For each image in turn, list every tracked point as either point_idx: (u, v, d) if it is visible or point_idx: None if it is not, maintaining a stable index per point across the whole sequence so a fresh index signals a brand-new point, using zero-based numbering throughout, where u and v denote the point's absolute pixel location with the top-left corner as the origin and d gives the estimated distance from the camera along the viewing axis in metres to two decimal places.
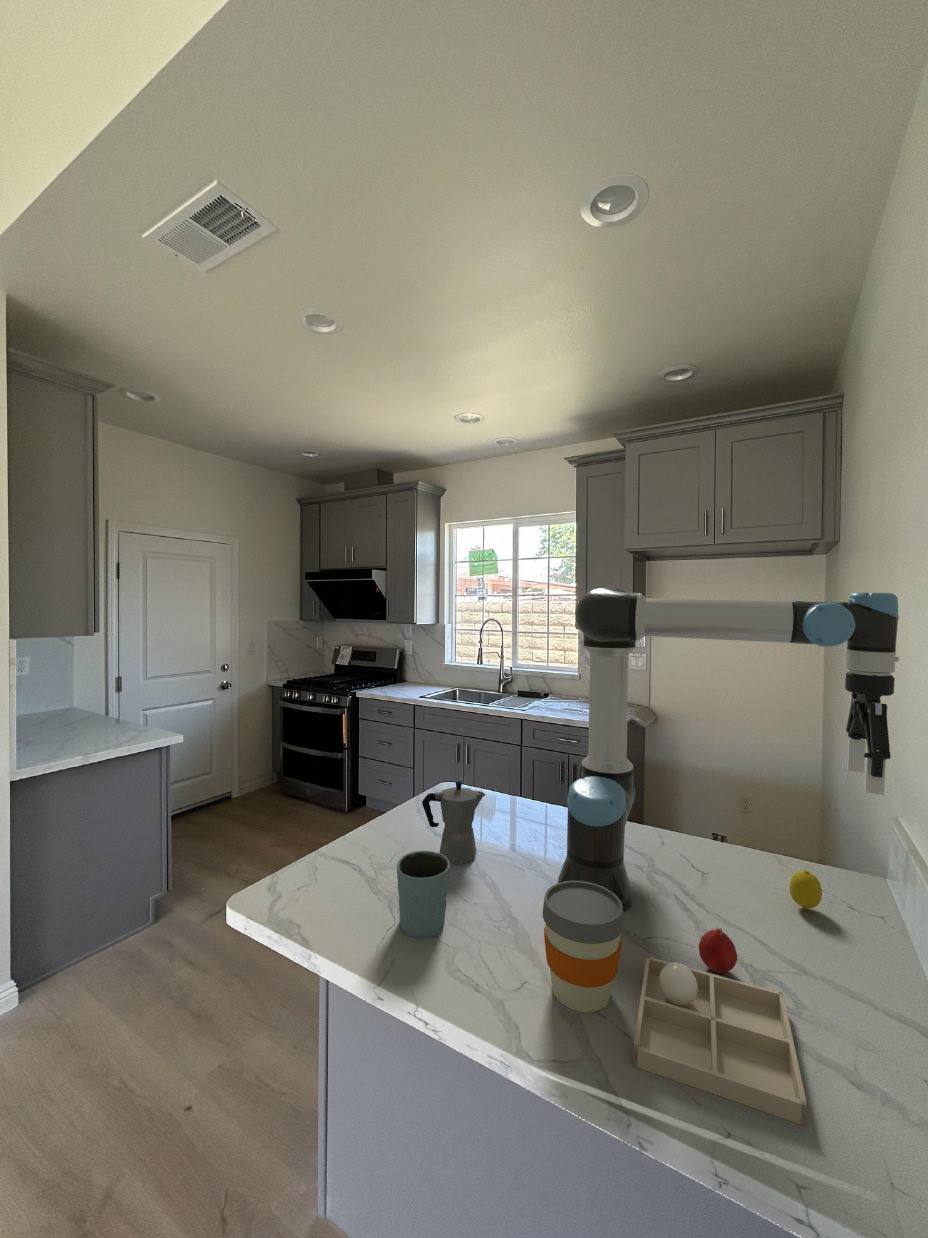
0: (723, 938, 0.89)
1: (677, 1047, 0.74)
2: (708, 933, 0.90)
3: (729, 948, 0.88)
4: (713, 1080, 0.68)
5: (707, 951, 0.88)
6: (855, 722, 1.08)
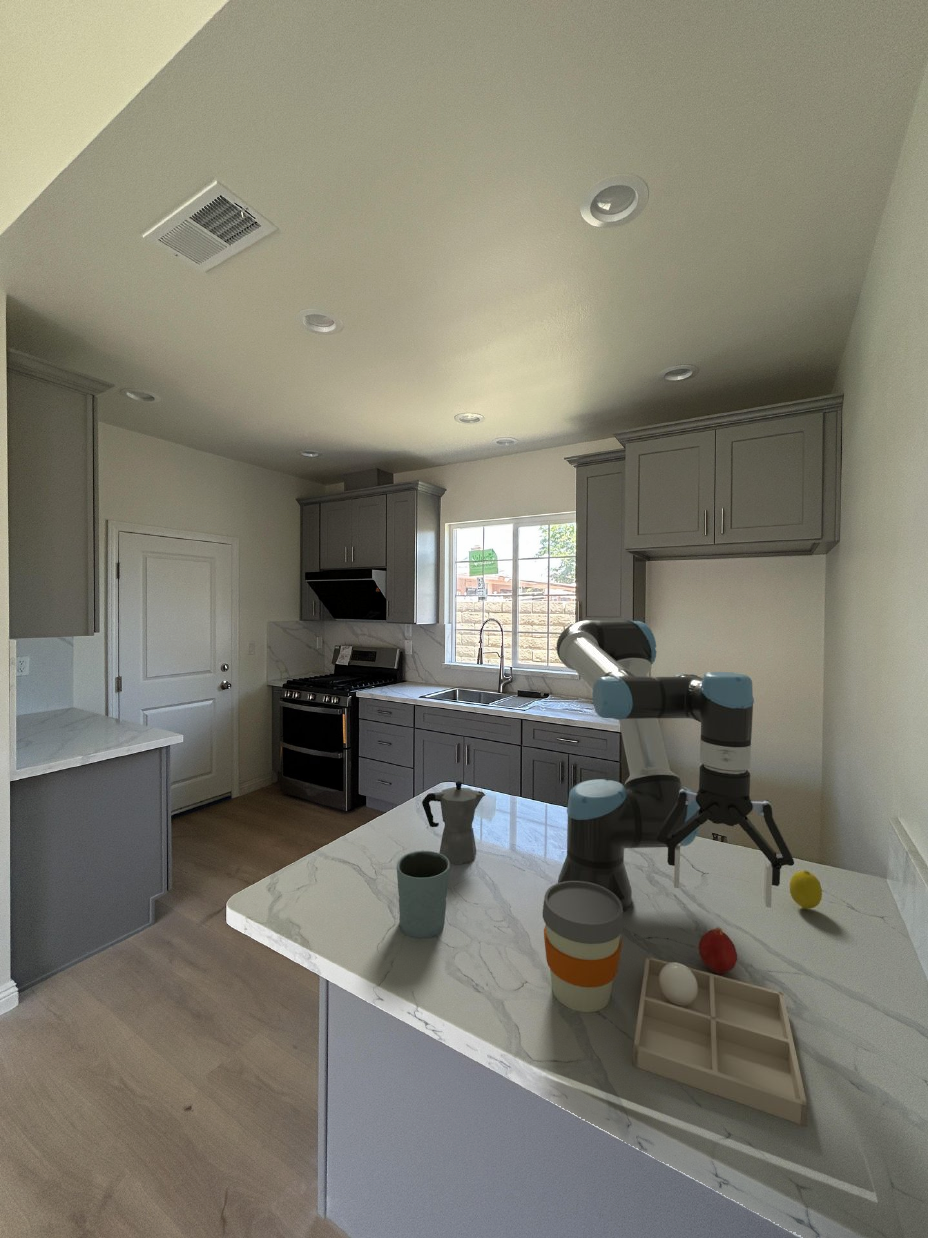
0: (723, 938, 0.89)
1: (677, 1047, 0.74)
2: (708, 933, 0.90)
3: (729, 948, 0.88)
4: (713, 1080, 0.68)
5: (707, 951, 0.88)
6: None
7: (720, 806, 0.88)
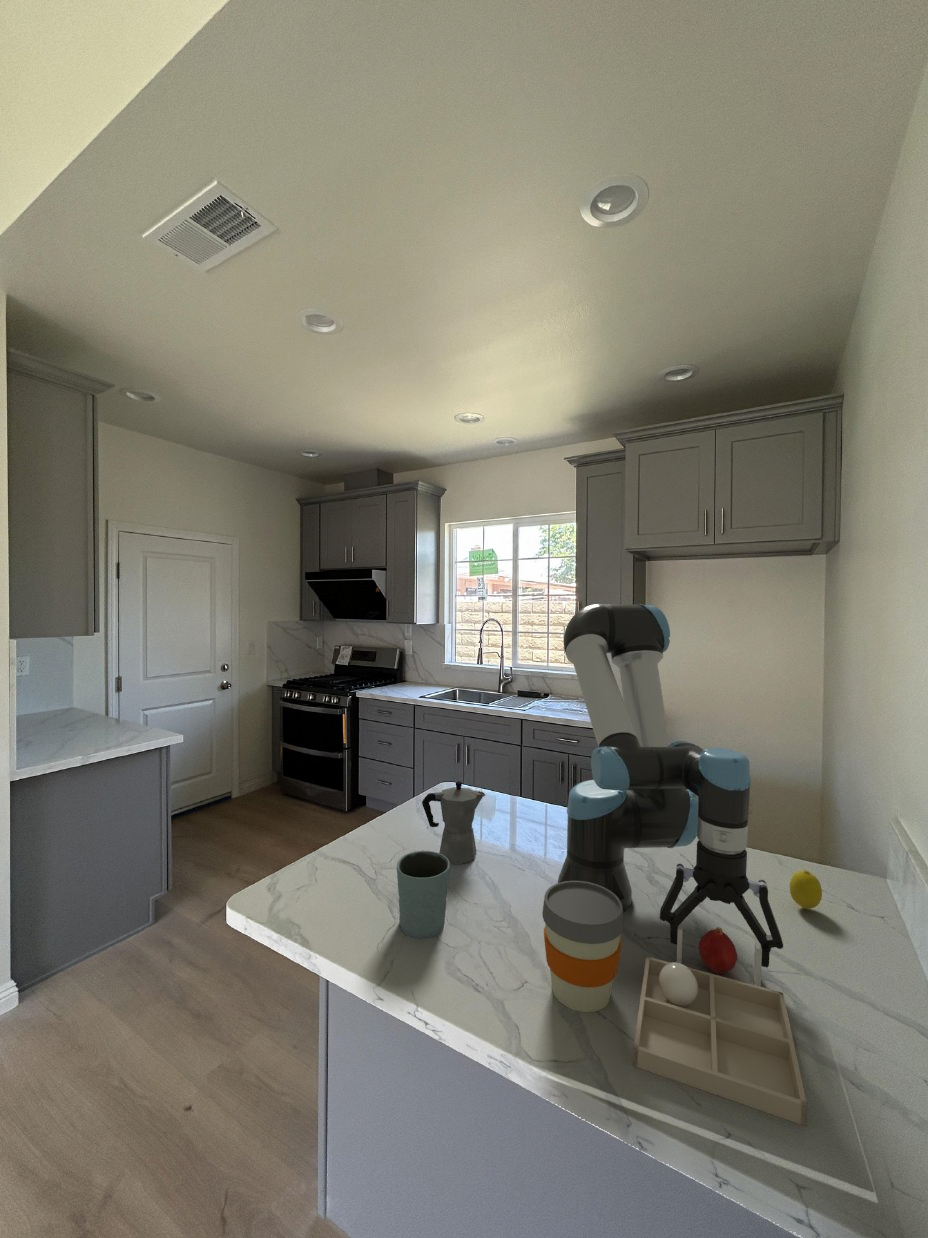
0: (723, 938, 0.89)
1: (677, 1047, 0.74)
2: (708, 933, 0.90)
3: (729, 948, 0.88)
4: (713, 1080, 0.68)
5: (707, 951, 0.88)
6: None
7: (717, 883, 0.88)
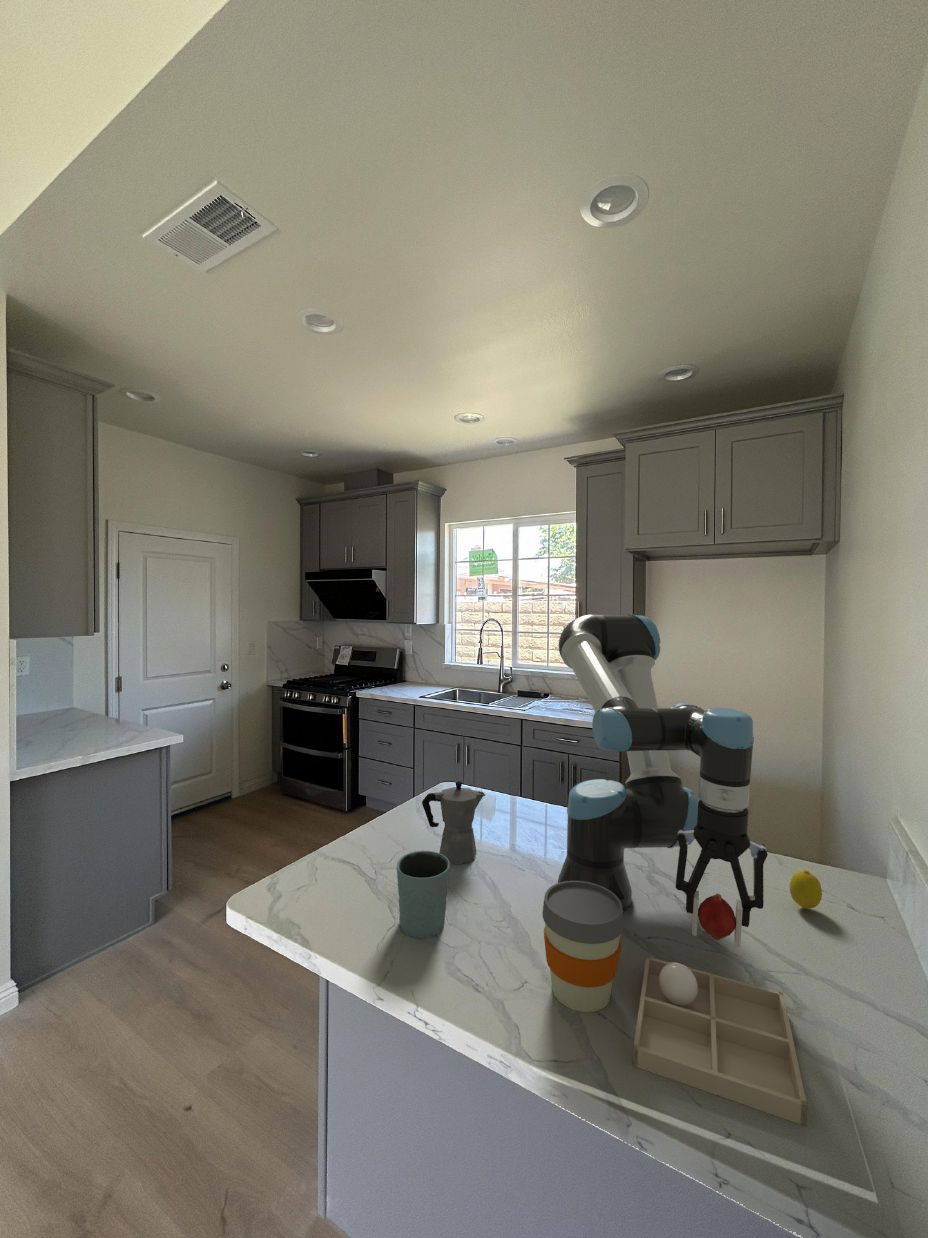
0: (722, 903, 0.89)
1: (677, 1047, 0.74)
2: (707, 899, 0.90)
3: (728, 914, 0.88)
4: (713, 1080, 0.68)
5: (706, 917, 0.89)
6: None
7: (717, 840, 0.88)
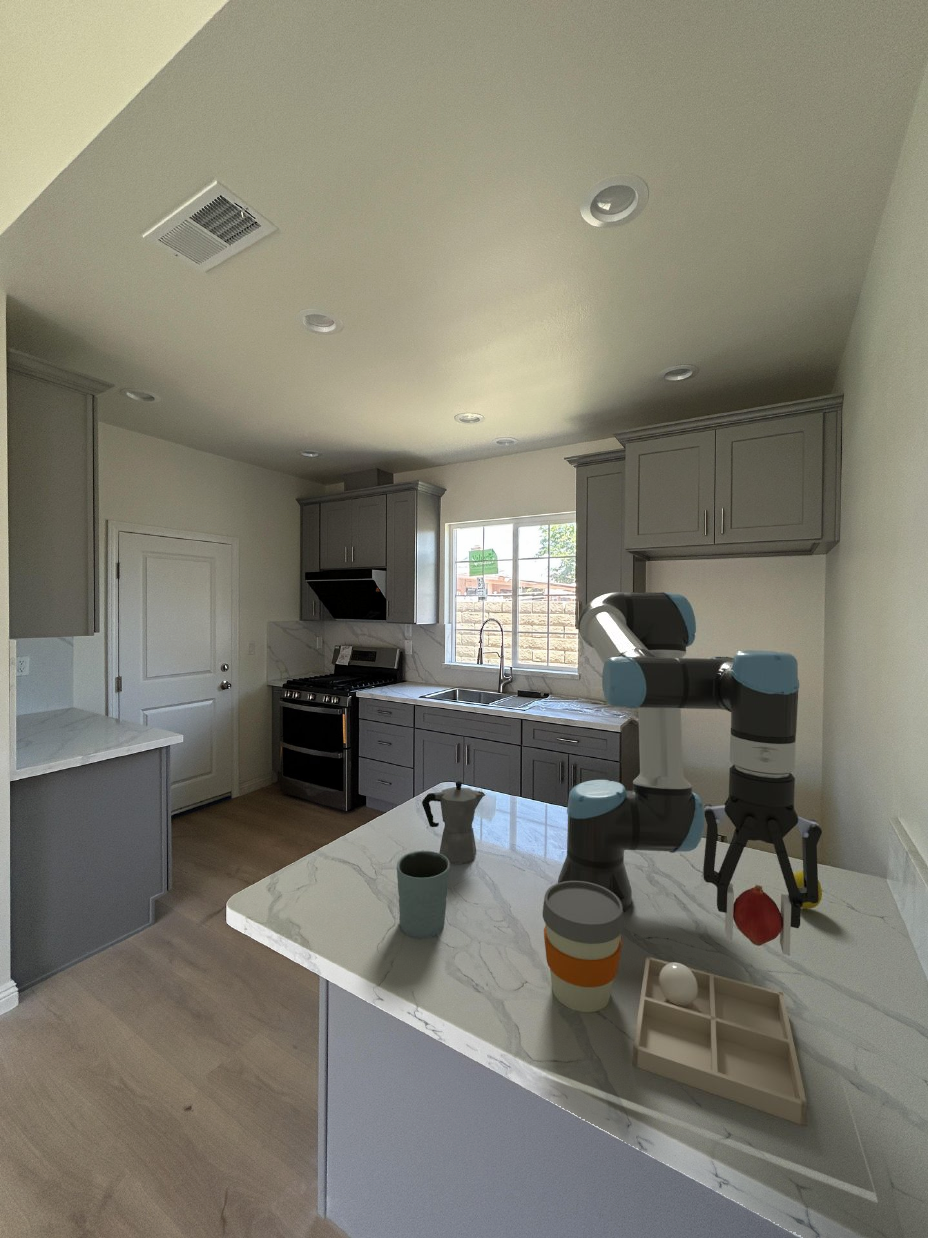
0: (765, 897, 0.70)
1: (677, 1047, 0.74)
2: (744, 893, 0.71)
3: (772, 911, 0.69)
4: (713, 1080, 0.68)
5: (745, 915, 0.69)
6: None
7: (755, 816, 0.70)
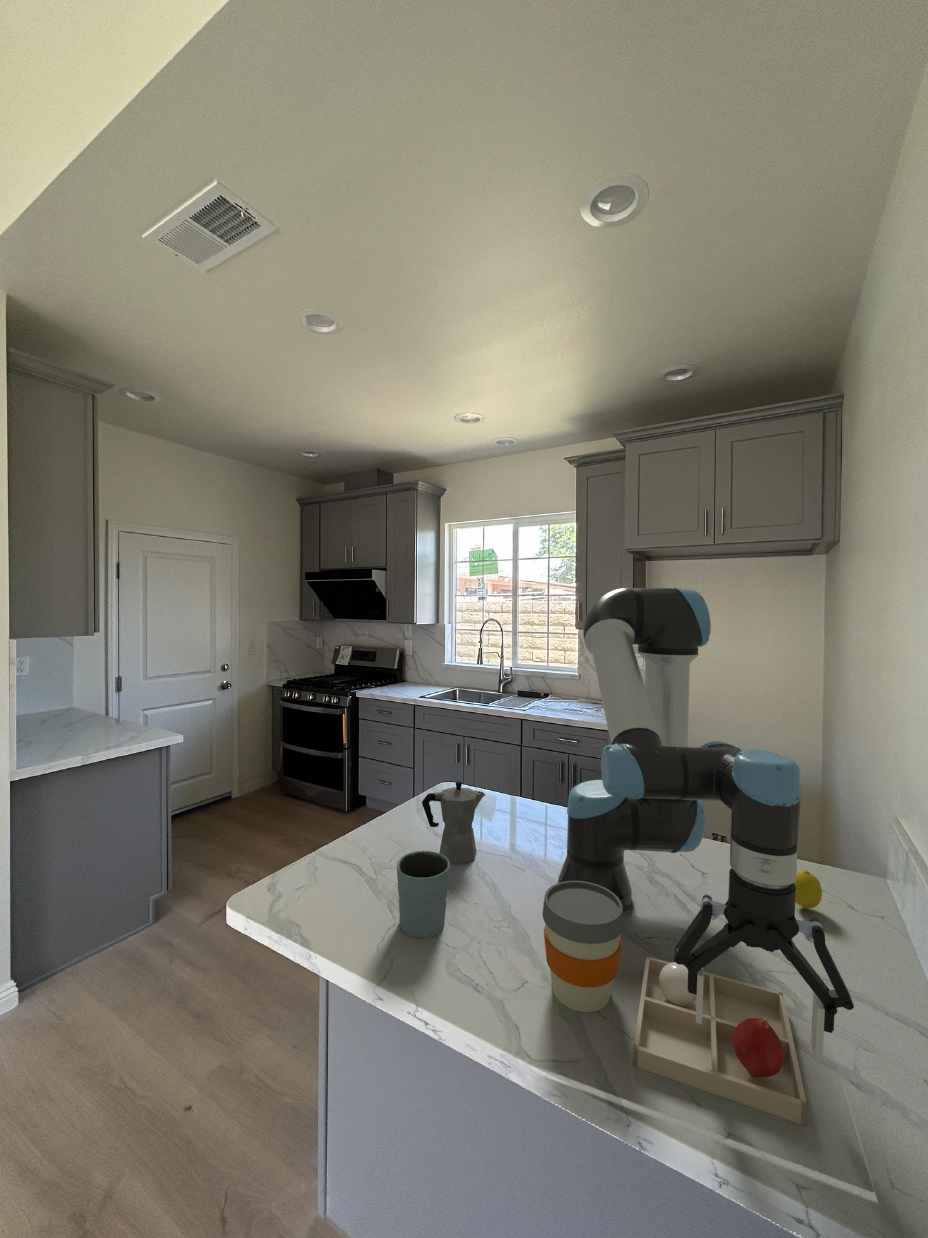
0: (770, 1032, 0.69)
1: (677, 1047, 0.74)
2: (749, 1022, 0.70)
3: (776, 1048, 0.68)
4: (713, 1080, 0.68)
5: (747, 1047, 0.69)
6: None
7: (756, 926, 0.68)
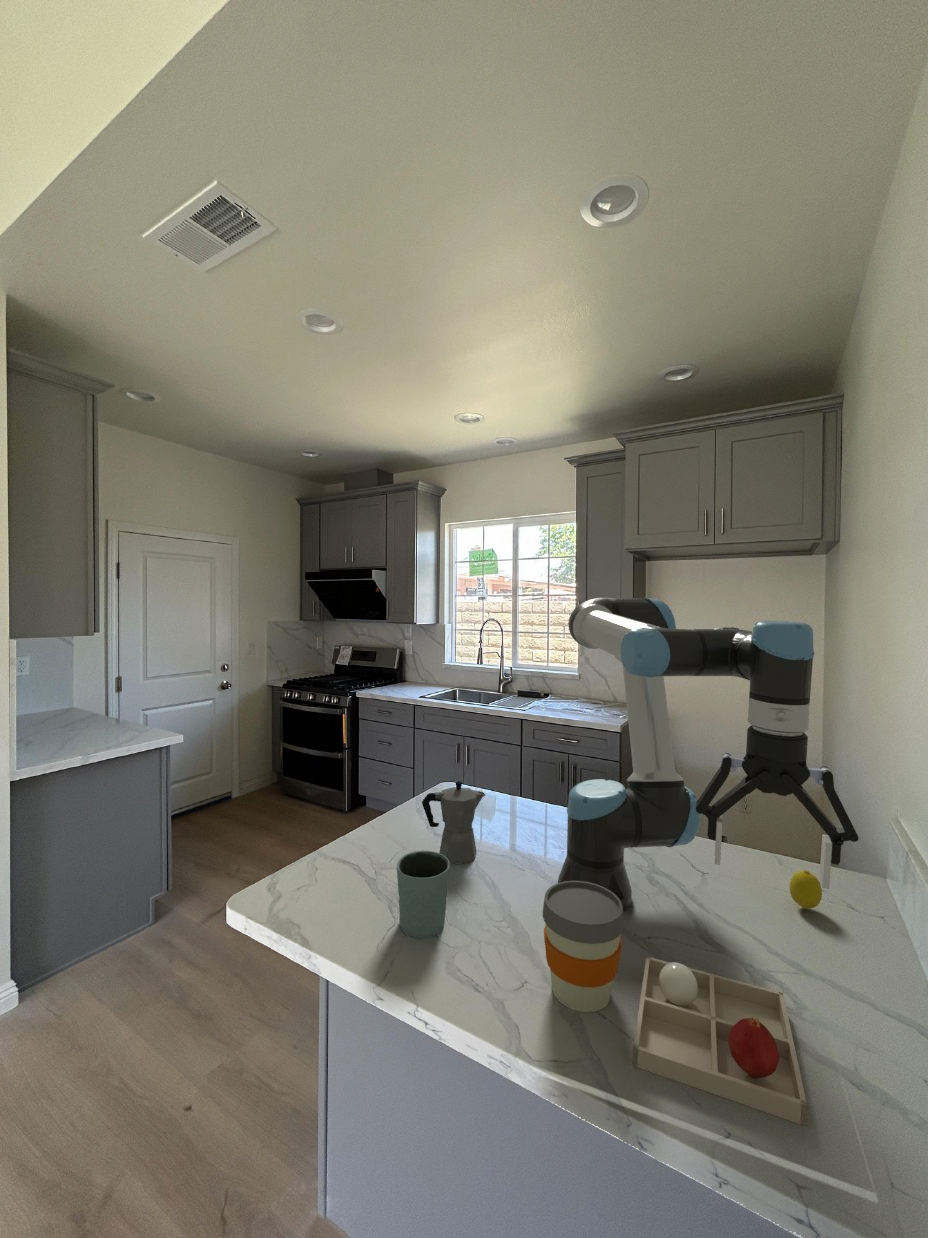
0: (761, 1031, 0.69)
1: (677, 1047, 0.74)
2: (741, 1023, 0.71)
3: (769, 1047, 0.68)
4: (713, 1080, 0.68)
5: (741, 1049, 0.69)
6: None
7: (771, 773, 0.76)
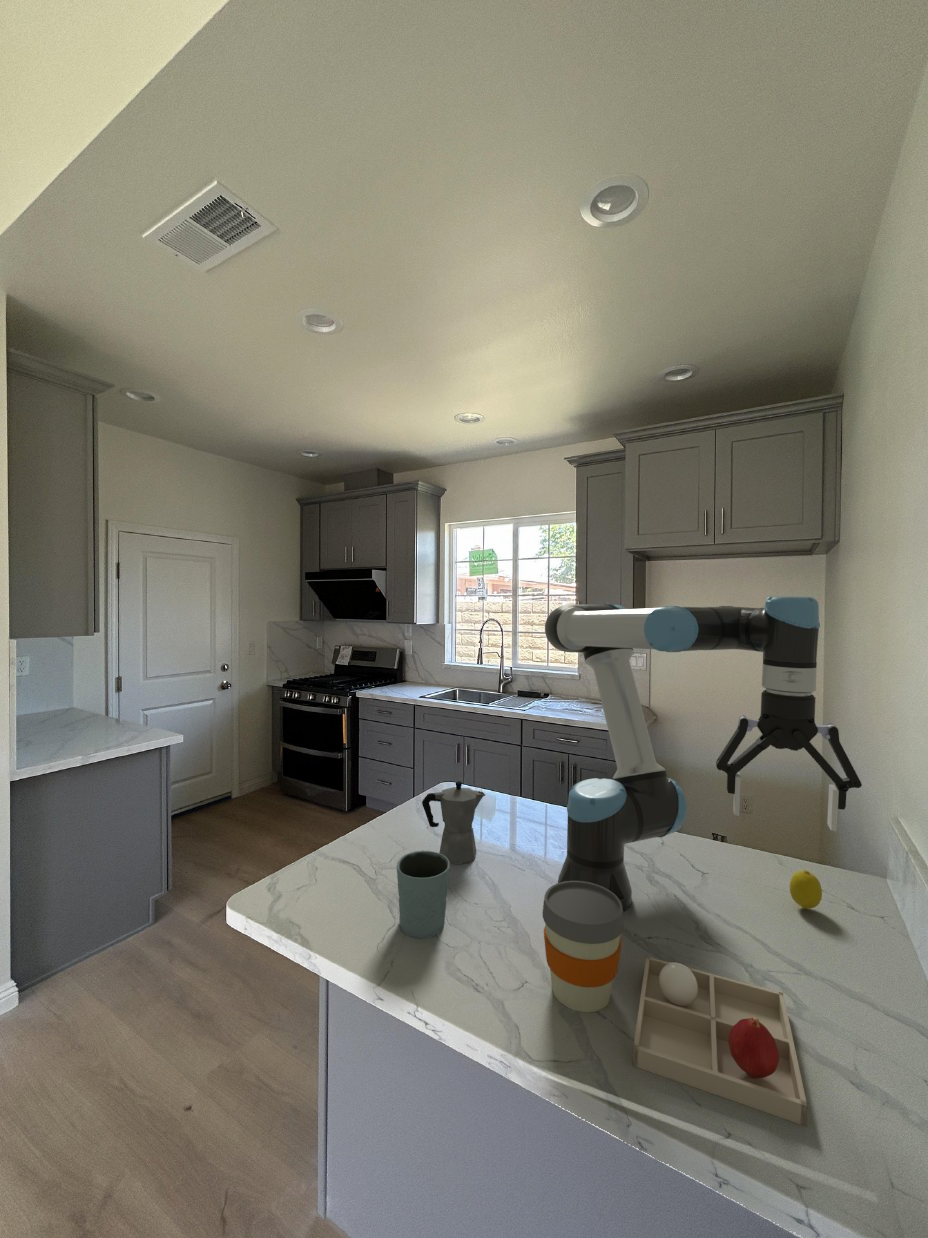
0: (761, 1032, 0.69)
1: (677, 1047, 0.74)
2: (741, 1024, 0.71)
3: (769, 1047, 0.68)
4: (713, 1080, 0.68)
5: (741, 1050, 0.69)
6: None
7: (784, 731, 0.86)
